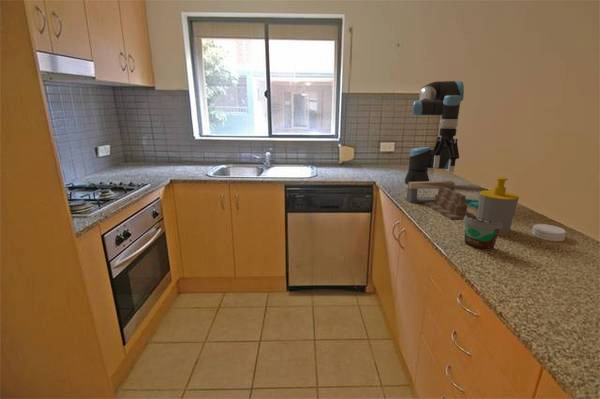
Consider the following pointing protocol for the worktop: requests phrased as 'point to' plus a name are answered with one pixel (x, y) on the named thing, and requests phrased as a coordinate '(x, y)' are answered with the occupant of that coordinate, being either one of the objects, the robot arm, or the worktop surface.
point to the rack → (414, 199)
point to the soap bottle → (498, 206)
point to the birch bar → (430, 184)
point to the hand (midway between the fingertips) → (442, 170)
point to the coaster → (548, 232)
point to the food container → (481, 232)
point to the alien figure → (472, 202)
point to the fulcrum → (450, 204)
